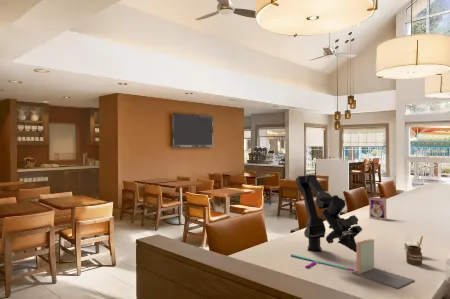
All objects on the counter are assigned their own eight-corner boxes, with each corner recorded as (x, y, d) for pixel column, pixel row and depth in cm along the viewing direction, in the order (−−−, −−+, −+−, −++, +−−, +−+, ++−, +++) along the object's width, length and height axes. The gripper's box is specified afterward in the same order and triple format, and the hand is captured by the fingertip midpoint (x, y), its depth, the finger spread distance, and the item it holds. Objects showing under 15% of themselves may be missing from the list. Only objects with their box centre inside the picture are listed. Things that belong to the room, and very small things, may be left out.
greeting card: (368, 218, 235) (368, 197, 235) (373, 216, 240) (373, 196, 240) (385, 220, 227) (385, 199, 227) (389, 219, 232) (389, 198, 232)
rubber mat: (352, 273, 129) (352, 272, 129) (369, 267, 136) (369, 266, 136) (397, 288, 114) (397, 287, 114) (414, 281, 121) (414, 279, 121)
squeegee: (280, 258, 144) (291, 253, 152) (280, 262, 144) (291, 257, 152) (344, 275, 125) (353, 268, 133) (344, 280, 125) (353, 272, 133)
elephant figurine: (417, 252, 155) (416, 237, 155) (424, 258, 146) (424, 243, 146) (399, 251, 157) (399, 236, 157) (406, 257, 148) (405, 242, 148)
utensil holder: (404, 260, 144) (404, 233, 144) (420, 261, 142) (420, 234, 143) (408, 264, 139) (407, 236, 139) (424, 266, 137) (424, 237, 137)
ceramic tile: (356, 272, 129) (356, 242, 129) (371, 267, 134) (370, 238, 135) (360, 274, 127) (360, 243, 128) (374, 268, 133) (374, 239, 133)
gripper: (331, 211, 133) (355, 244, 124) (358, 207, 144) (382, 237, 135) (316, 227, 140) (338, 259, 131) (343, 221, 150) (365, 251, 141)
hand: (357, 251), depth 134 cm, fingers closed
